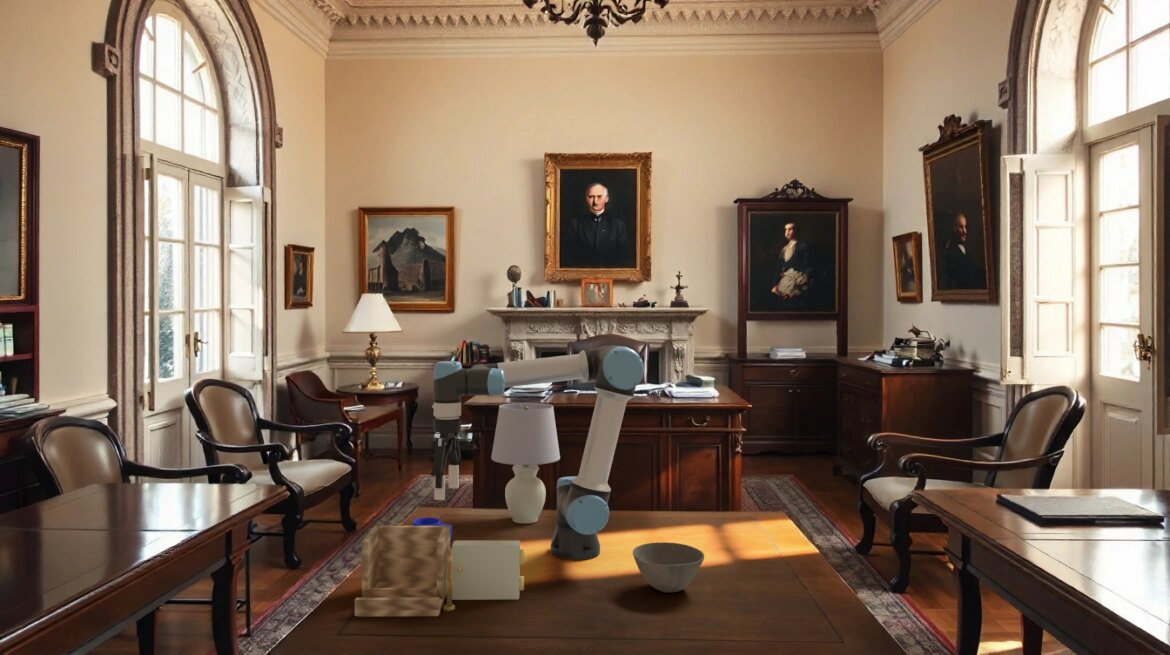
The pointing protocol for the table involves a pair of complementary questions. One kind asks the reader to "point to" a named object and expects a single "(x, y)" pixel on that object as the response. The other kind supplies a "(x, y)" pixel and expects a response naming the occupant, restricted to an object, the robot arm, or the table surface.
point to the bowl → (668, 564)
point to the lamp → (525, 454)
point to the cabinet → (406, 571)
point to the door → (486, 570)
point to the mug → (430, 523)
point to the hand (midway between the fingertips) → (446, 493)
